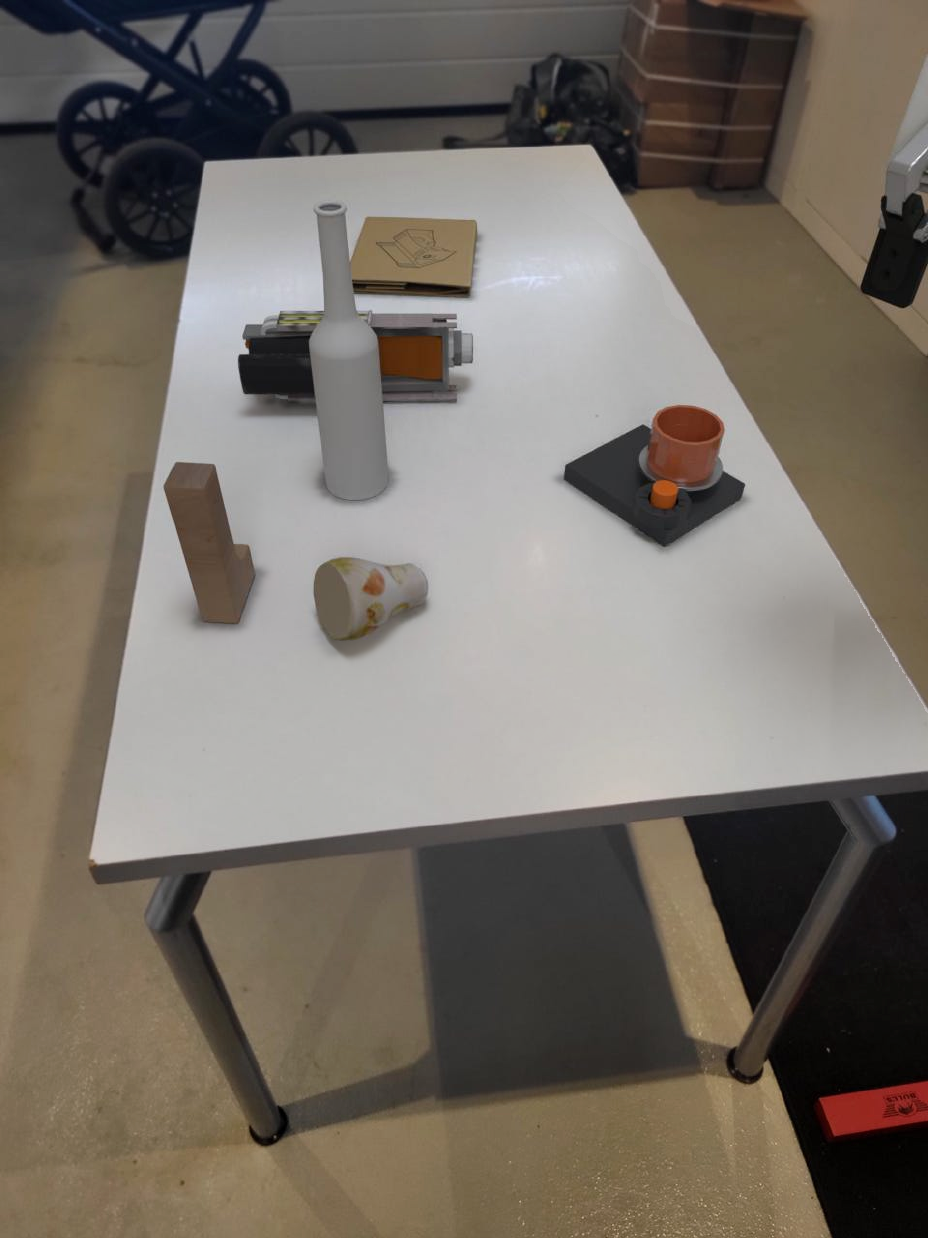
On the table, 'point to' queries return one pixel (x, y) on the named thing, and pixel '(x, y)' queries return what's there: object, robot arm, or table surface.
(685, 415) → the cup
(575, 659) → the table surface
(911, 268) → the robot arm
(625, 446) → the scale
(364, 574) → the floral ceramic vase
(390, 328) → the mechanical component
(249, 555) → the wooden block
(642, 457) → the brushed metal disc
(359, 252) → the box
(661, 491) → the button
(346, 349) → the bottle
